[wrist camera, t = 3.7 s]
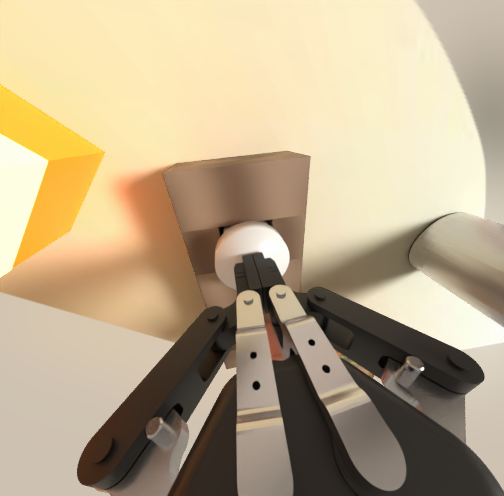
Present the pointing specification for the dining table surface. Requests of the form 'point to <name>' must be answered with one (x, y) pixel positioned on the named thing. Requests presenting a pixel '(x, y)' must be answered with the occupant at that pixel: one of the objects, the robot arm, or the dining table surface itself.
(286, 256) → the white rounded piece
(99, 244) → the dining table surface
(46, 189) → the orange juice
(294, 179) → the block
